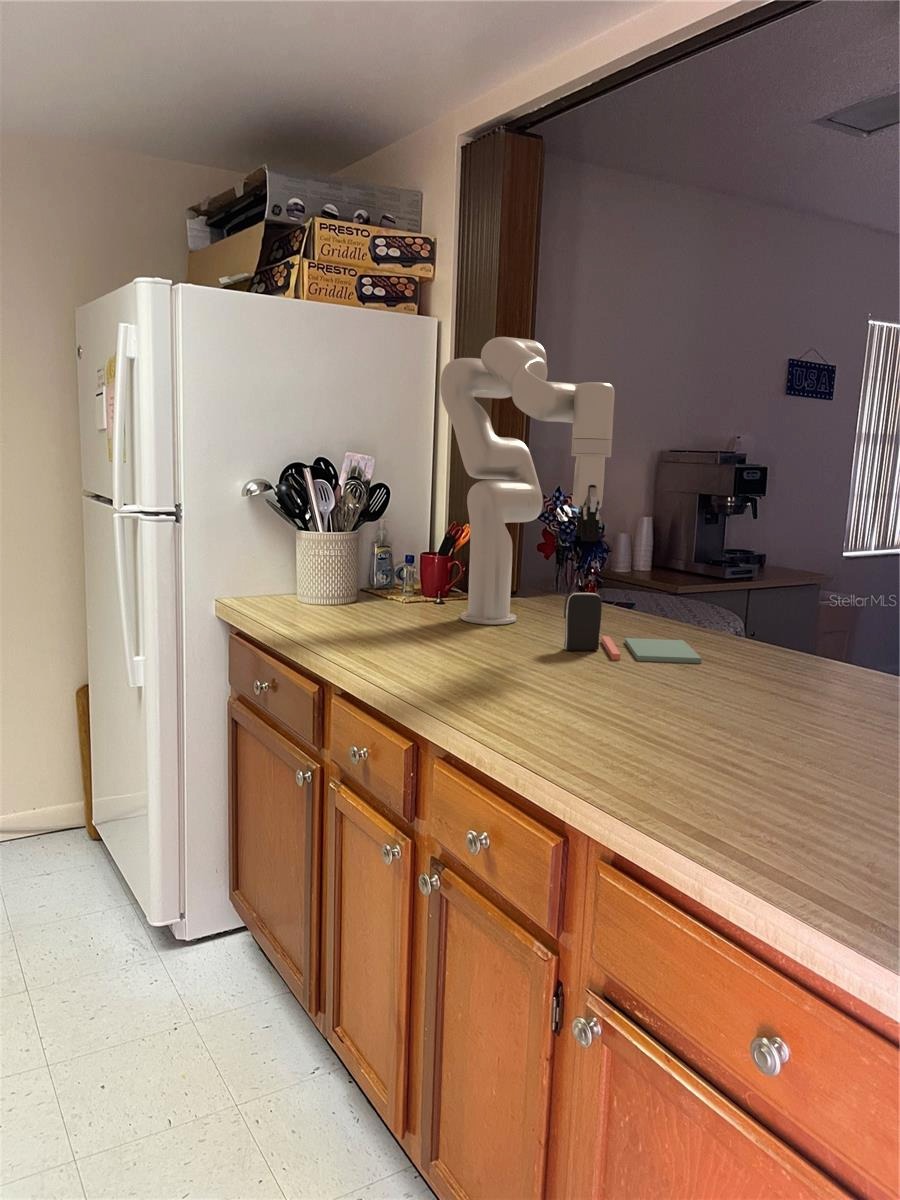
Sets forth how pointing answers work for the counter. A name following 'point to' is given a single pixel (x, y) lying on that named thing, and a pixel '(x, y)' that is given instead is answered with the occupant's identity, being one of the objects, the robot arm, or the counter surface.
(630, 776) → the counter surface
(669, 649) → the mat
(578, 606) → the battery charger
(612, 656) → the bar
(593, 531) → the robot arm
